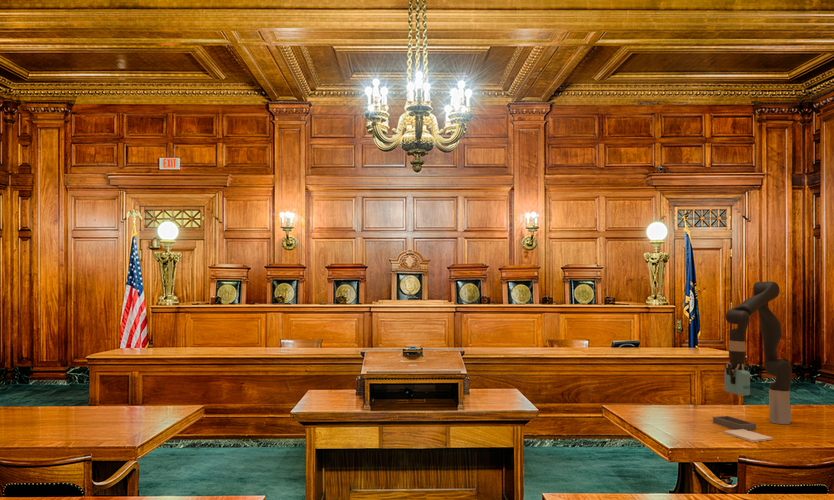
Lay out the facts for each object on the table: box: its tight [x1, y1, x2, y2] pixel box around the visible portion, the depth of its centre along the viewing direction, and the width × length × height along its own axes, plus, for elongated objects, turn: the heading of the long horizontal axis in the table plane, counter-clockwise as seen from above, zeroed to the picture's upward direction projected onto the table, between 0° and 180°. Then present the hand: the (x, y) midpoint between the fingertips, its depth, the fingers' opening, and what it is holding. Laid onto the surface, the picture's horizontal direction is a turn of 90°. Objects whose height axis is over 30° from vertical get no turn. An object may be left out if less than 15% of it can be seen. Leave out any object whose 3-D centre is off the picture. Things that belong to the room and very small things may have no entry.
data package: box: [724, 368, 751, 396], centre depth 287 cm, size 12×4×12 cm, turn 14°
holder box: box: [712, 415, 757, 431], centre depth 292 cm, size 10×17×3 cm, turn 20°
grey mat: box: [722, 429, 774, 443], centre depth 272 cm, size 13×16×1 cm
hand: (737, 383), depth 287 cm, fingers closed on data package, 4 cm apart
